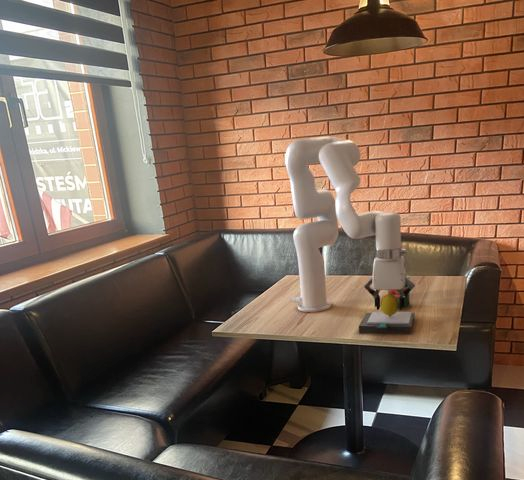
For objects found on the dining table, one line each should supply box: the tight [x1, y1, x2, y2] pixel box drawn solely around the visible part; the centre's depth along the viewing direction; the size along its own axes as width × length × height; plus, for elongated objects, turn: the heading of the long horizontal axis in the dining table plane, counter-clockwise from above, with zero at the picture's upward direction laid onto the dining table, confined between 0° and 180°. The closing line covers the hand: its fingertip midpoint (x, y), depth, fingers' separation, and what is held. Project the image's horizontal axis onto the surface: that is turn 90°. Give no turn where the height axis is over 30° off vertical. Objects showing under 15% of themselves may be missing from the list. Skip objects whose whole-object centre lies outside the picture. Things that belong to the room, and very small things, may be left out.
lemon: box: [380, 293, 399, 317], centre depth 172 cm, size 6×6×8 cm
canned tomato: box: [386, 274, 411, 311], centre depth 191 cm, size 8×8×11 cm
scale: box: [358, 311, 416, 335], centre depth 173 cm, size 16×16×3 cm
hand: (389, 308), depth 172 cm, fingers open, 6 cm apart
